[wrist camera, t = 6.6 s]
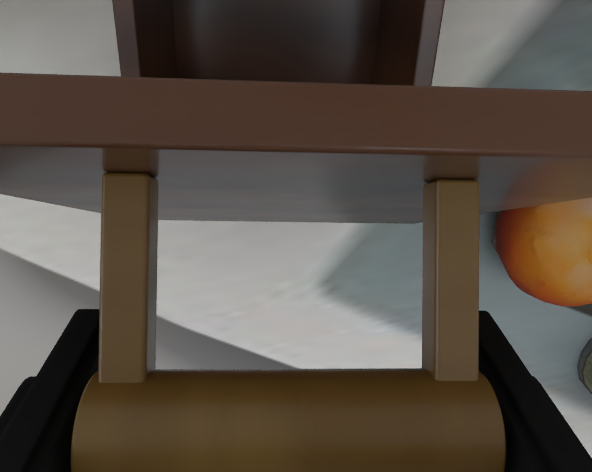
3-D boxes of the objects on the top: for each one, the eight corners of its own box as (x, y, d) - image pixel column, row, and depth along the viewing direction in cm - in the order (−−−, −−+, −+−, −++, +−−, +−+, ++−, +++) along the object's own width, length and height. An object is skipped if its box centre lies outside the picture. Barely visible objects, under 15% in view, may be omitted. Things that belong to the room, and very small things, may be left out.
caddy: (145, -176, 23) (79, -264, 15) (411, -160, 23) (482, -235, 16) (171, 149, 30) (136, 206, 22) (375, 154, 30) (412, 211, 23)
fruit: (448, 275, 33) (536, 282, 25) (483, 169, 34) (578, 145, 26) (540, 315, 35) (648, 333, 27) (571, 213, 36) (683, 203, 28)
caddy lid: (-300, 60, 5) (-318, 607, 5) (830, 96, 6) (837, 571, 6) (134, 201, 21) (131, 328, 21) (414, 206, 22) (413, 329, 22)
